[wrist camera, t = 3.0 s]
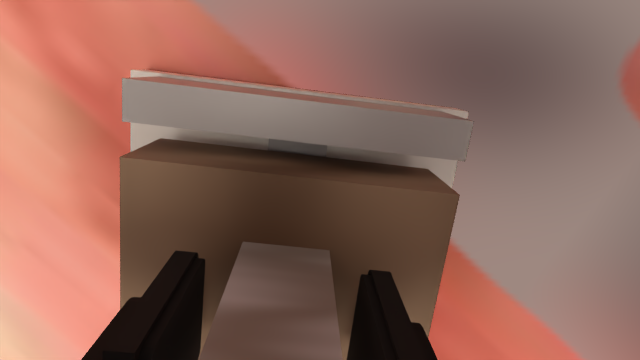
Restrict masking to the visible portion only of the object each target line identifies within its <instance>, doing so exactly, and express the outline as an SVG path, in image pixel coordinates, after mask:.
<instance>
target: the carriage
mask: <svg viewBox="0 0 640 360" xmlns="http://www.w3.org/2000/svg"><path fill="white" fill-rule="evenodd" d="M459 196H460V195H459V194H458V193H457V192H456V191H454V190H453V189H452V188H451V187H449V186H448V185H447V184H446V183H445V182H443V181H442V180H441V179H440V178H439V177H437V176H436V175H435V174H434V173H432V172H431V171H430V170H429V169H425V168H416V167H408V166H399V165H390V164H382V163H373V162H364V161H356V160H347V159H338V158H329V157H321V156H312V155H303V154H295V153H286V152H277V151H269V150H260V149H251V148H242V147H234V146H225V145H216V144H208V143H199V142H190V141H182V140H173V139H164V138H160V139H158V140H155V141H153V142H151V143H149V144H147V145H145V146H143V147H140V148H138V149H136V150H134V151H132V152H130V153H127V154H125V155H123V156H121V157H120V310H121V308H122V307H123V306H124V304H125V303H126V302H127V301H128V300H129V299H130V298H131V297H142V295H143V294H144V293H145V291H146V290H147V289H148V287H149V286H150V284H151V283H152V282H153V280H154V279H155V278H156V276H157V275H158V273H159V272H160V271H161V269H162V268H163V267H164V265H165V264H166V263H167V261H168V260H169V258H170V257H171V256H172V254H173V253H174V252H175V251H176V250H177V251H187V252H197V253H198V257H199V258H202V259H205V278H204V296H203V314H202V332H201V348H200V354H199V358H198V360H347V354H348V348H349V342H350V336H351V330H352V324H353V318H354V312H355V306H356V300H357V294H358V287H359V281H360V277H361V274H365V275H367V274H368V271H369V270H379V271H389V272H391V274H392V277H393V279H394V282H395V284H396V287H397V289H398V291H399V294H400V296H401V299H402V301H403V304H404V306H405V309H406V311H407V313H408V316H409V318H410V321H411V322H415V323H420V324H421V325H422V327H423V328H424V331H425V333H426V335H427V337H428V336H429V331H430V327H431V322H432V318H433V313H434V309H435V304H436V300H437V295H438V291H439V286H440V282H441V277H442V272H443V268H444V263H445V259H446V254H447V250H448V245H449V241H450V236H451V232H452V227H453V223H454V218H455V213H456V209H457V205H458V200H459Z"/></svg>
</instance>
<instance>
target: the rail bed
mask: <svg viewBox="0 0 640 360" xmlns="http://www.w3.org/2000/svg"><path fill="white" fill-rule="evenodd" d="M468 113H469V112H467V111H464V110H460V109H457V108H451V107H443V106H435V105H427V104H419V103H411V102H403V101H395V100H386V99H379V98H371V97H363V96H354V95H347V94H338V93H330V92H322V91H315V90H307V89H299V88H291V87H283V86H275V85H267V84H258V83H250V82H242V81H234V80H226V79H218V78H210V77H202V76H194V75H186V74H178V73H170V72H162V71H154V70H131V78H122V121H123V122H131V152H132V151H134V150H136V149H138V148H140V147H143V146H145V145H147V144H149V143H151V142H153V141H155V140H158V139H160V138H164V139H173V140H182V141H190V142H199V143H208V144H216V145H225V146H234V147H242V148H251V149H260V150H269V151H277V152H286V153H295V154H303V155H312V156H321V157H329V158H338V159H347V160H356V161H364V162H373V163H382V164H390V165H399V166H408V167H416V168H425V169H429V170H430V171H431V172H432V173H434V174H435V175H436V176H437V177H439V178H440V179H441V180H442V181H443V182H445V183H446V184H447V185H448V186H449V187H451V188H452V187H453V182H454V178H455V173H456V168H457V163H458V161H465V160H466V155H467V151H468V146H469V142H470V137H471V133H472V128H473V124H474V121H471V120H468V119H467V117H468Z"/></svg>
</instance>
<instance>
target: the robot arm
mask: <svg viewBox="0 0 640 360" xmlns="http://www.w3.org/2000/svg"><path fill="white" fill-rule="evenodd" d="M204 278H205V259H202V258H199V257H198V253H197V252H187V251H177V250H176V251H175V252H174V253H173V254H172V256H171V257H170V258H169V260H168V261H167V263H166V264H165V265H164V267H163V268H162V269H161V271H160V272H159V273H158V275H157V276H156V278H155V279H154V280H153V282H152V283H151V284H150V286H149V287H148V289H147V290H146V291H145V293H144V294H143V295H142V297H131V298H130V299H129V300H128V301H127V302H126V303H125V304H124V306H123V307H122V308H121V310H120V311H119V312H118V313H117V315H116V316H115V317H114V319H113V320H112V321H111V322H110V324H109V325H108V326H107V327H106V329H105V330H104V331H103V333H102V334H101V335H100V336H99V338H98V339H97V340H96V342H95V343H94V344H93V345H92V347H91V348H90V349H89V351H88V352H87V353H86V354H85V356H84V357H83V358H82V360H198V358H199V354H200V348H201V332H202V314H203V296H204ZM347 360H437V357H436V355H435V353H434V351H433V348H432V346H431V344H430V342H429V340H428V337H427V335H426V333H425V331H424V328H423V327H422V325H421V324H420V323H415V322H411V321H410V318H409V316H408V313H407V311H406V309H405V306H404V304H403V301H402V299H401V296H400V294H399V291H398V289H397V287H396V284H395V282H394V279H393V277H392V274H391V272H389V271H379V270H369V271H368V274H367V275H365V274H361V277H360V281H359V287H358V294H357V300H356V306H355V312H354V318H353V324H352V330H351V336H350V342H349V348H348V354H347Z"/></svg>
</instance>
